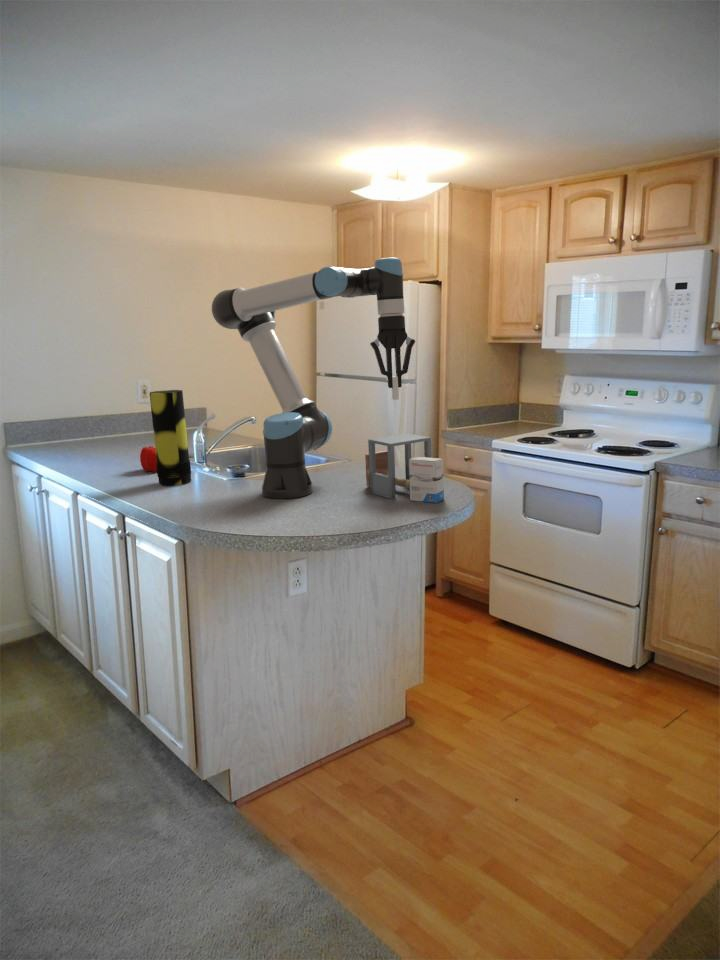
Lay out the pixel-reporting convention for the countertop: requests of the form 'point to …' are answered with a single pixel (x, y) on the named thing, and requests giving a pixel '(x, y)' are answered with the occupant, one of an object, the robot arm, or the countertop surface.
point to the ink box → (426, 479)
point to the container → (170, 437)
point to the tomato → (148, 459)
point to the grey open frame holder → (392, 461)
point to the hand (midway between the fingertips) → (395, 399)
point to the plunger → (383, 469)
